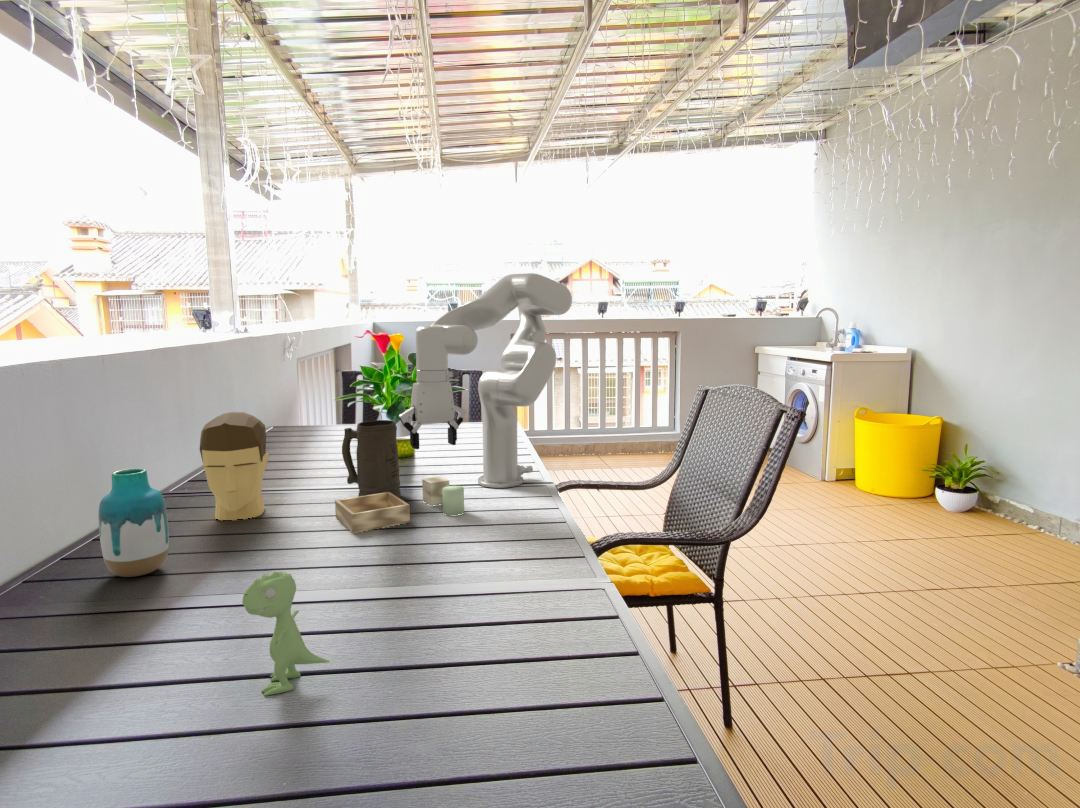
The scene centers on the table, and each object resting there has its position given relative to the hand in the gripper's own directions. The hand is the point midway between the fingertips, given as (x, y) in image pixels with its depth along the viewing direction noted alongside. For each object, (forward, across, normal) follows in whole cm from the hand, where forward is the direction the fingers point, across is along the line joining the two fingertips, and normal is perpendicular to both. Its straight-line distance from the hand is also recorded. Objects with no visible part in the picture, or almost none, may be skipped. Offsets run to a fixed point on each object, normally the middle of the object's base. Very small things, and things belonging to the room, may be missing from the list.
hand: (434, 446), depth 162 cm
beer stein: (+15, +12, -14) cm, 23 cm away
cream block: (+14, 0, 0) cm, 15 cm away
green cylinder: (+14, 0, +10) cm, 18 cm away
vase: (+15, +64, +11) cm, 66 cm away
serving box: (+15, +18, +5) cm, 23 cm away
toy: (+15, +48, +64) cm, 82 cm away
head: (+15, +43, -16) cm, 48 cm away
